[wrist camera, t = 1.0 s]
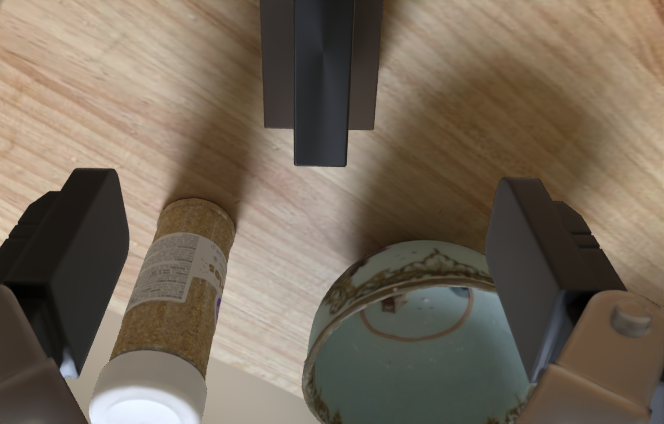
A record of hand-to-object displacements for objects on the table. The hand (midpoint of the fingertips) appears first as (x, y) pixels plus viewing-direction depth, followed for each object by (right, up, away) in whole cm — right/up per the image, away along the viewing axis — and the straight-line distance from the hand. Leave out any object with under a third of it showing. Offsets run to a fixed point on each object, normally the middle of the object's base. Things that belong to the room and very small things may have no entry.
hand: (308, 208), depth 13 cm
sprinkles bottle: (-7, -1, +23) cm, 24 cm away
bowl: (+5, -4, +26) cm, 26 cm away
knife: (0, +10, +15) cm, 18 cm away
